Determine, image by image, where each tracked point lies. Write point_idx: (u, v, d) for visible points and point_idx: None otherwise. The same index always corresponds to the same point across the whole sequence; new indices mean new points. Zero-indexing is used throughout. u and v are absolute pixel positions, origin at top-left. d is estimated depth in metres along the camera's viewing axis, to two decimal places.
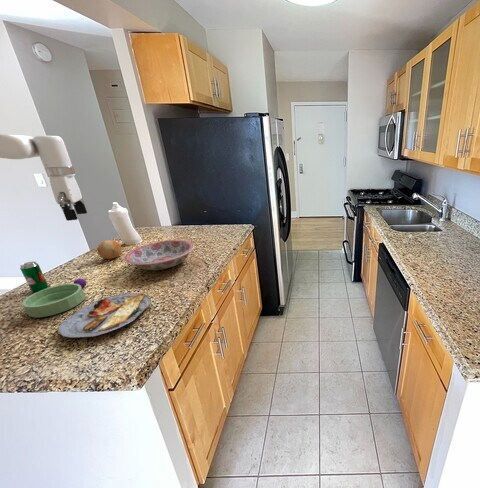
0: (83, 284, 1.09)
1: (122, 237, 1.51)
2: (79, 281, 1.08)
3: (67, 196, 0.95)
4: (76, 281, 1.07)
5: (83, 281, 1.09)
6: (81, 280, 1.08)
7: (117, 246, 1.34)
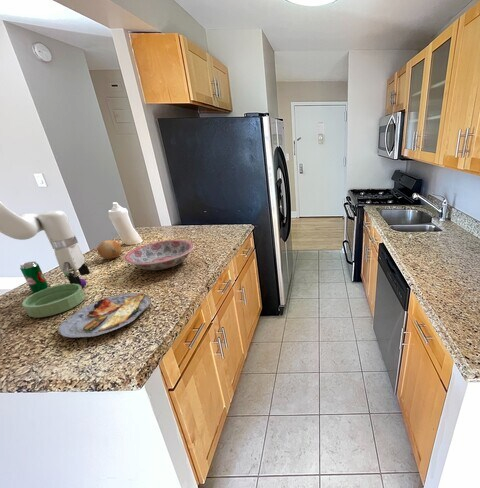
0: (83, 284, 1.09)
1: (122, 237, 1.51)
2: None
3: (71, 265, 1.02)
4: None
5: (83, 281, 1.09)
6: (81, 280, 1.08)
7: (117, 246, 1.34)
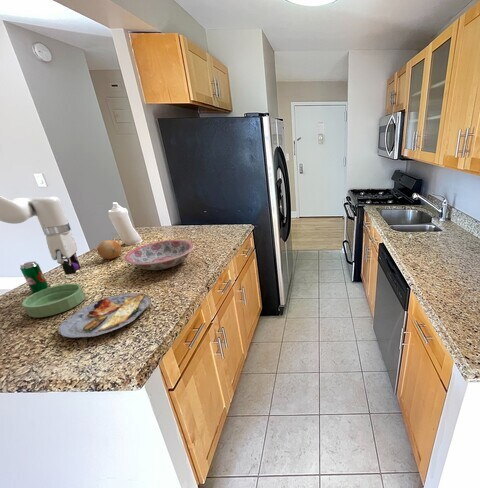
0: (75, 268, 1.06)
1: (122, 237, 1.51)
2: None
3: (63, 253, 0.99)
4: None
5: (75, 265, 1.06)
6: (73, 264, 1.05)
7: (117, 246, 1.34)
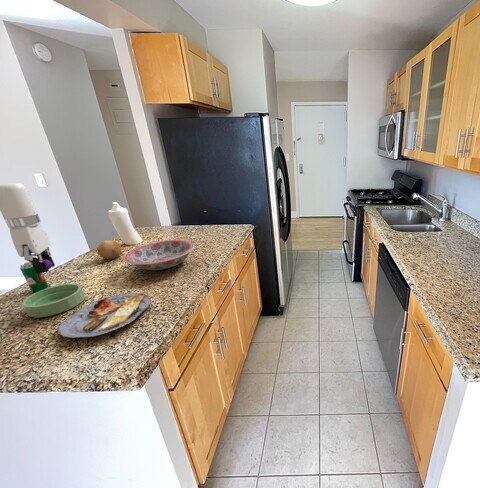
0: (48, 266, 0.93)
1: (122, 237, 1.51)
2: None
3: (31, 248, 0.86)
4: None
5: (48, 262, 0.93)
6: (45, 261, 0.92)
7: (117, 246, 1.34)
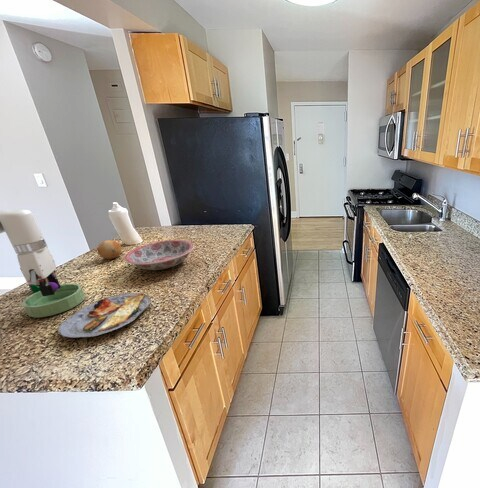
0: (54, 289, 0.94)
1: (122, 237, 1.51)
2: None
3: (37, 273, 0.88)
4: None
5: (54, 285, 0.94)
6: (51, 284, 0.94)
7: (117, 246, 1.34)
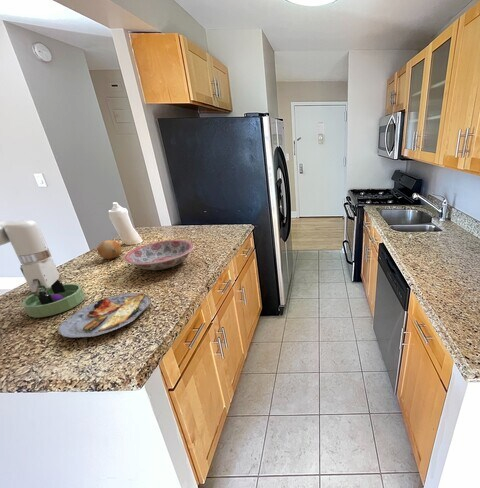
0: None
1: (122, 237, 1.51)
2: (54, 297, 0.95)
3: (41, 282, 0.89)
4: None
5: (59, 297, 0.96)
6: (57, 296, 0.96)
7: (117, 246, 1.34)
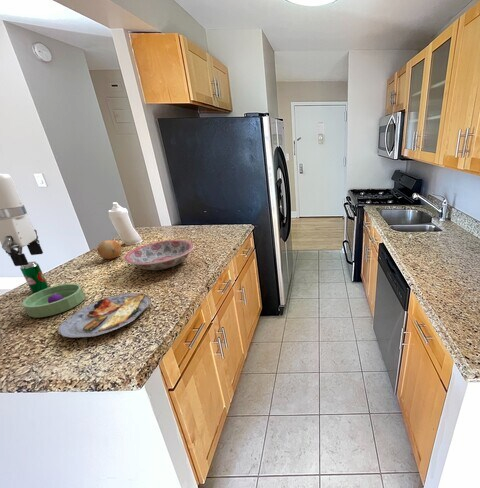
0: None
1: (122, 237, 1.51)
2: (54, 297, 0.95)
3: (15, 240, 0.84)
4: (51, 298, 0.95)
5: (59, 297, 0.96)
6: (57, 296, 0.96)
7: (117, 246, 1.34)
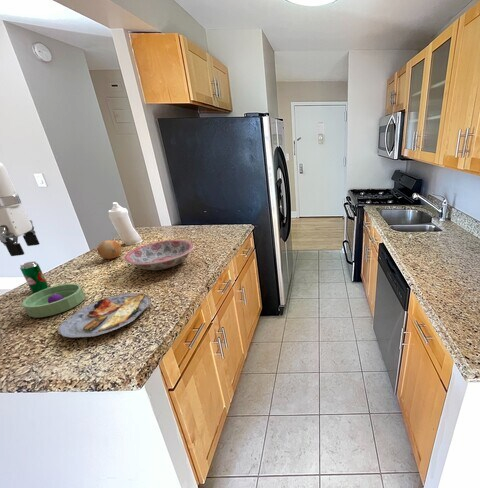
0: None
1: (122, 237, 1.51)
2: (54, 297, 0.95)
3: (10, 229, 0.84)
4: (51, 298, 0.95)
5: (59, 297, 0.96)
6: (57, 296, 0.96)
7: (117, 246, 1.34)
